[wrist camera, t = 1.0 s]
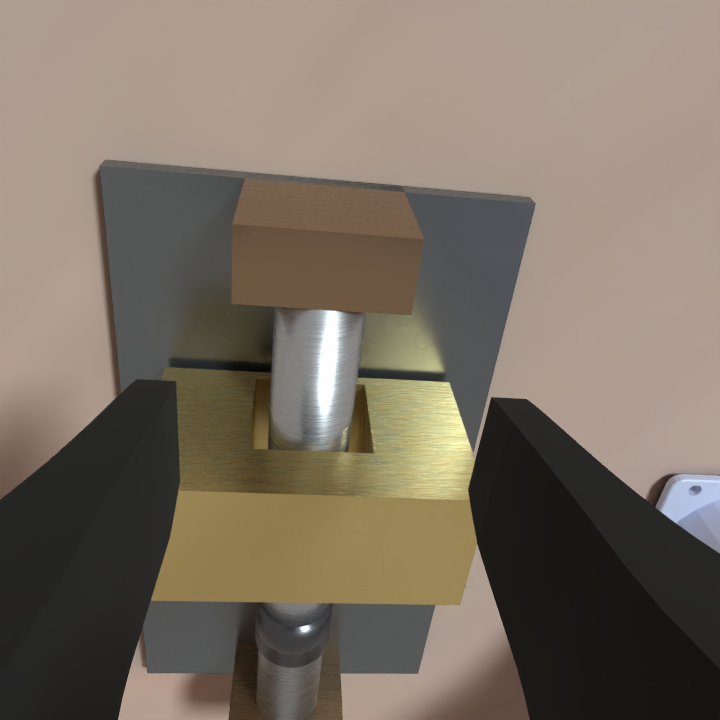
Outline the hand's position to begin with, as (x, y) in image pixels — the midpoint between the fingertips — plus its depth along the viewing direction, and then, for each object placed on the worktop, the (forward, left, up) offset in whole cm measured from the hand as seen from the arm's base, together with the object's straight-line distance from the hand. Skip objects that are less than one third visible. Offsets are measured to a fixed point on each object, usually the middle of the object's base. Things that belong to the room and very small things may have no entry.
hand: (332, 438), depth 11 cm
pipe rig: (0, +10, -10) cm, 14 cm away
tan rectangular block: (0, +6, -10) cm, 12 cm away
